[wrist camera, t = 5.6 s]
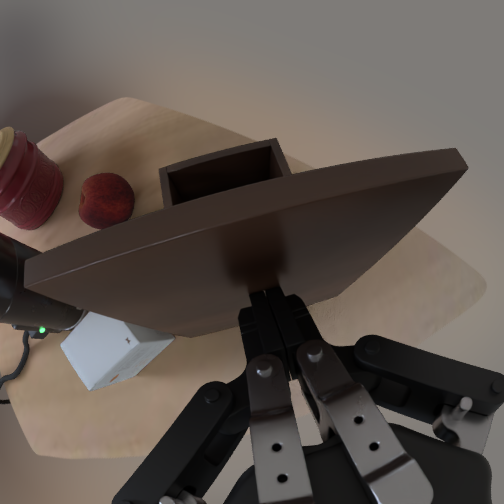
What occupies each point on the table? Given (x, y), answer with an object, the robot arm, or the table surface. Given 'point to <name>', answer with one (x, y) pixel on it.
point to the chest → (222, 171)
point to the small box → (111, 349)
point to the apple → (106, 200)
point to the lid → (247, 244)
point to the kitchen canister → (26, 181)
